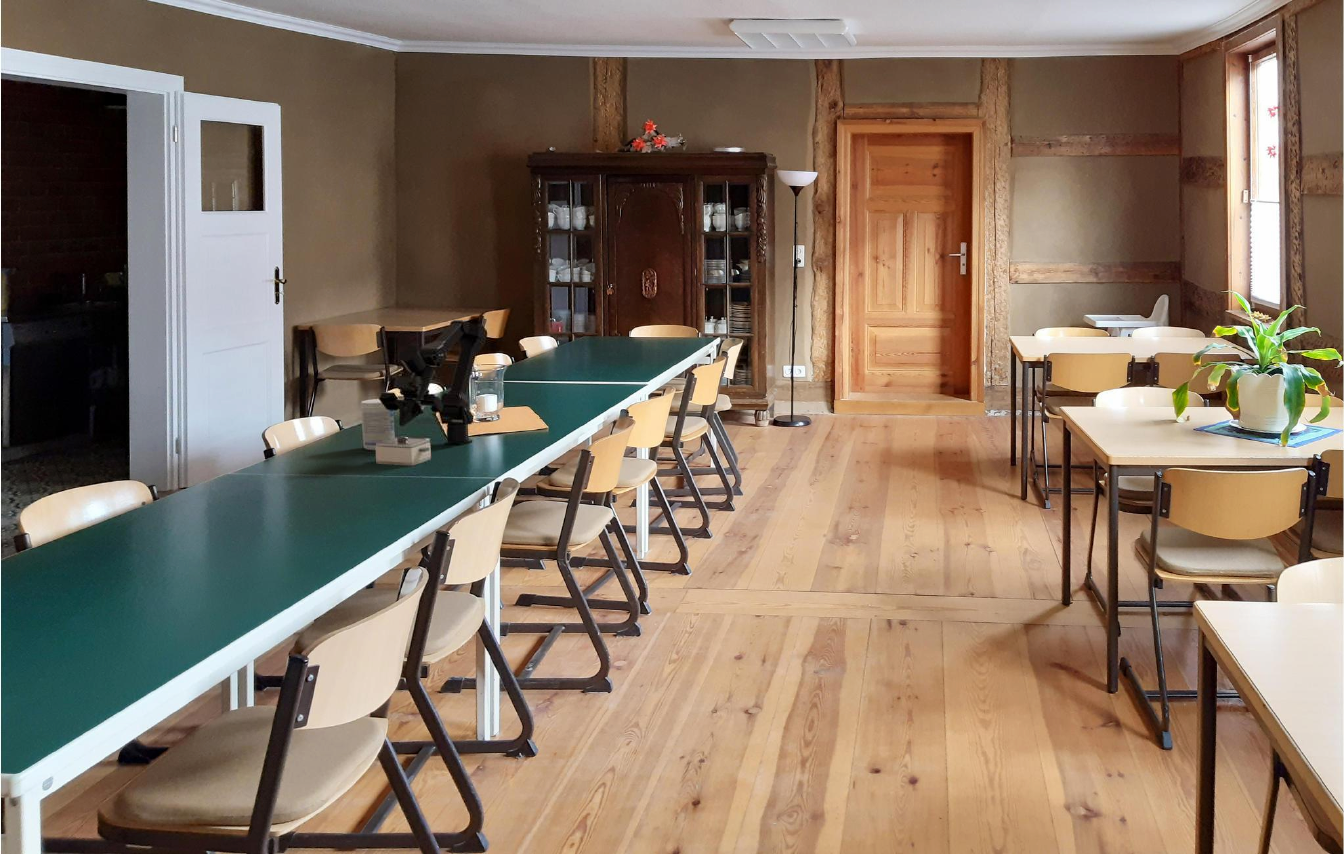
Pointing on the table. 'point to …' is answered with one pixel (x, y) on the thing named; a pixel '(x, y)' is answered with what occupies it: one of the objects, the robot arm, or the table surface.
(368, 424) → the supplement tub
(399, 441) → the lid
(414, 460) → the pot
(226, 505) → the table surface
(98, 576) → the table surface
